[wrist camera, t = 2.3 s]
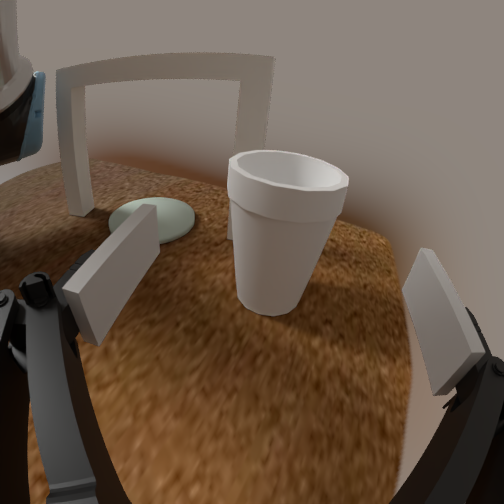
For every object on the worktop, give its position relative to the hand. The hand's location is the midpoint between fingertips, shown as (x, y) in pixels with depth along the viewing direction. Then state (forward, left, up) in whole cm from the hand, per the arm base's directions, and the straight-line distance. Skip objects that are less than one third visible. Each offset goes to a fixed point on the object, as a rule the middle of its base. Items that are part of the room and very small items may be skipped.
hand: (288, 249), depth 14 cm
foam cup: (0, +11, -12) cm, 16 cm away
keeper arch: (-17, +21, -12) cm, 30 cm away
